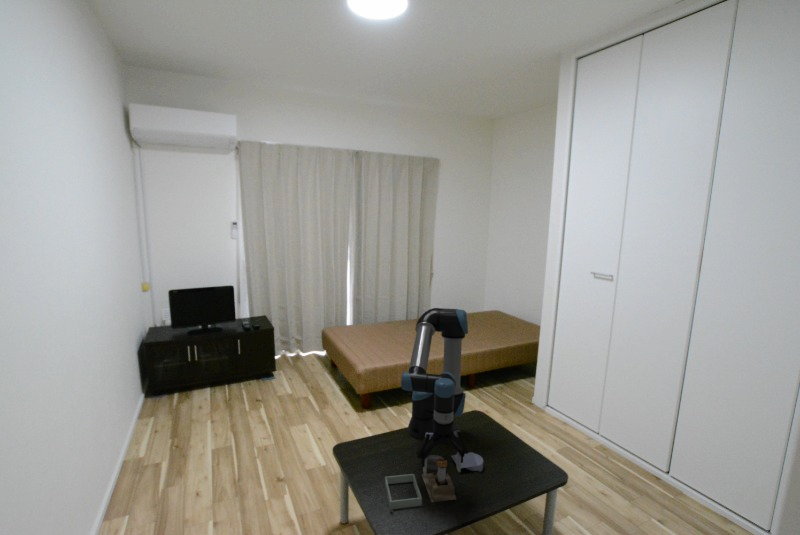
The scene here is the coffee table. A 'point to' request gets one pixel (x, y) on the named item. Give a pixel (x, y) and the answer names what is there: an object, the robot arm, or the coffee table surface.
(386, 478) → the tray
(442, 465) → the lock pin
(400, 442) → the coffee table surface
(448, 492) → the block
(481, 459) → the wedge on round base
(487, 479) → the coffee table surface
